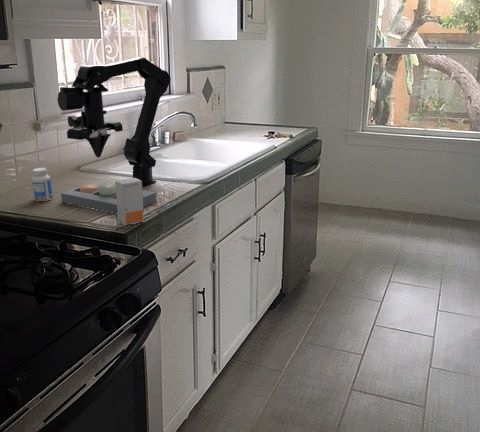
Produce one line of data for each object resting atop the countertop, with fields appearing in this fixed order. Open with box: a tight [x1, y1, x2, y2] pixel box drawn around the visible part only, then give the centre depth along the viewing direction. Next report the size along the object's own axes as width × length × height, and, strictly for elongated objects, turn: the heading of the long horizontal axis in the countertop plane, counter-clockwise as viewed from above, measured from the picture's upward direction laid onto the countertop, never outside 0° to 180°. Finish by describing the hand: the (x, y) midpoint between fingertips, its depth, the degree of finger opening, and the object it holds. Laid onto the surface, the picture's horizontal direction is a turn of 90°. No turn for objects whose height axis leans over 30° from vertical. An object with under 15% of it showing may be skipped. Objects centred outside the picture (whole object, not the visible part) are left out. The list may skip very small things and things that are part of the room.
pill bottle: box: [31, 167, 54, 202], centre depth 166 cm, size 6×5×10 cm
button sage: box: [98, 183, 116, 197], centre depth 163 cm, size 6×6×3 cm
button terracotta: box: [79, 183, 99, 194], centre depth 167 cm, size 6×6×3 cm
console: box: [60, 181, 157, 214], centre depth 164 cm, size 15×25×3 cm, turn 59°
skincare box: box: [114, 177, 145, 226], centre depth 145 cm, size 6×4×12 cm
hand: (98, 157), depth 169 cm, fingers closed
